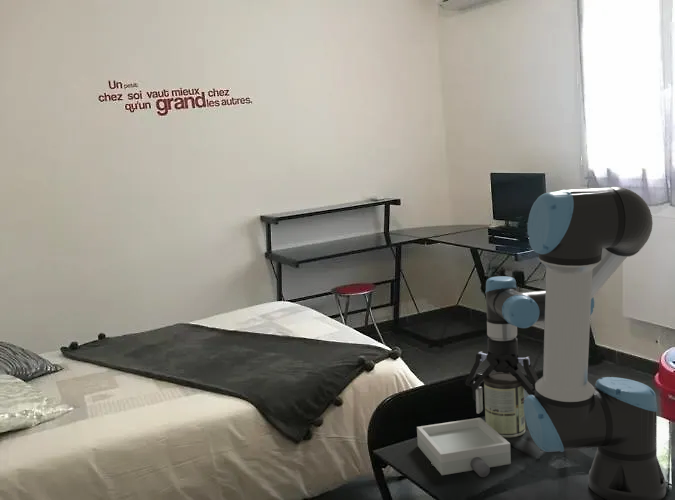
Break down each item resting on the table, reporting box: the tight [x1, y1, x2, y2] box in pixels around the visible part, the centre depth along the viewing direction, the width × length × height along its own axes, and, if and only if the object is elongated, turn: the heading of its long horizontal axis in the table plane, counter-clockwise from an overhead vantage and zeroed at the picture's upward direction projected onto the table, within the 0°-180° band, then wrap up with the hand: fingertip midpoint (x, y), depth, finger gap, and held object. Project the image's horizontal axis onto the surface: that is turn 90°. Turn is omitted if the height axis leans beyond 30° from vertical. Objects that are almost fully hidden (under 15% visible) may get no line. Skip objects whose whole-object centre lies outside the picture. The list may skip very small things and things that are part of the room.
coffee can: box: [483, 371, 526, 439], centre depth 180 cm, size 10×10×14 cm
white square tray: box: [416, 417, 512, 478], centre depth 166 cm, size 21×17×5 cm
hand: (504, 415), depth 181 cm, fingers open, 13 cm apart
